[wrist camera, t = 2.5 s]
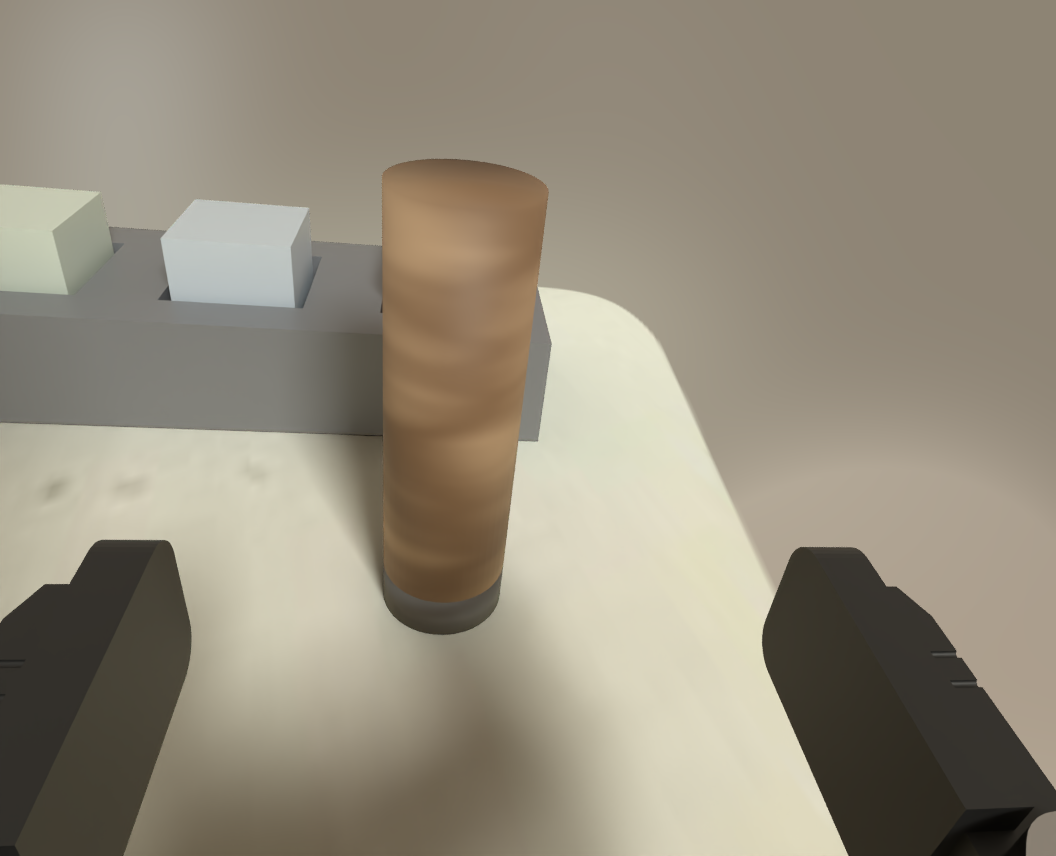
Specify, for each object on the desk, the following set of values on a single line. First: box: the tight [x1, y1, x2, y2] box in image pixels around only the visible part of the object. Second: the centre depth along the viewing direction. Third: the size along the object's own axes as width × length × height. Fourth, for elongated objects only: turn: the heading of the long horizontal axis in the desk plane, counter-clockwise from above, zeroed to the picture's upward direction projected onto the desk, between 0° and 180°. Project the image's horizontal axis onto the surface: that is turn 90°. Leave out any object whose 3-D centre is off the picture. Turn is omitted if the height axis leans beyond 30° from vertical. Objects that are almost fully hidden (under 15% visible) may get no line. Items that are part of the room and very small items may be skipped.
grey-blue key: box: [160, 199, 313, 308], centre depth 33 cm, size 5×5×4 cm
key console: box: [0, 227, 551, 441], centre depth 34 cm, size 27×10×5 cm, turn 95°
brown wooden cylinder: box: [382, 159, 549, 635], centre depth 22 cm, size 4×4×14 cm
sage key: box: [0, 184, 114, 295], centre depth 32 cm, size 5×5×4 cm
